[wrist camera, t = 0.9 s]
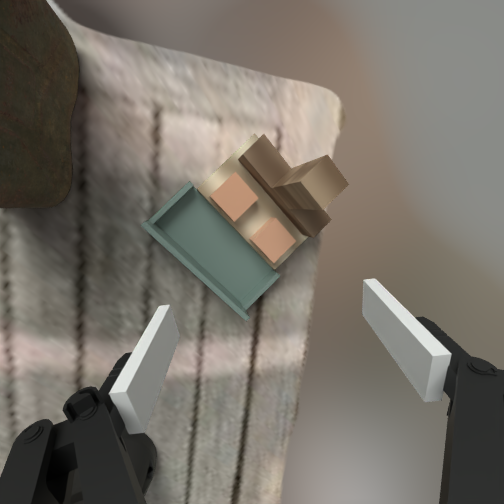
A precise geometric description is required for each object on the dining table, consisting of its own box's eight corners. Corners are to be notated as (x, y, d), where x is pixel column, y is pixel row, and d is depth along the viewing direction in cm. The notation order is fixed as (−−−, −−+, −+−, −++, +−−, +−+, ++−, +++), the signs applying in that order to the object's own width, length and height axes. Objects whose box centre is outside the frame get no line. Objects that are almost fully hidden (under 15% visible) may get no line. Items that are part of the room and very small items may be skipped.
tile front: (231, 220, 39) (234, 221, 36) (209, 196, 37) (210, 195, 35) (254, 198, 39) (258, 198, 36) (232, 173, 37) (235, 171, 35)
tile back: (269, 259, 41) (273, 263, 39) (249, 238, 40) (252, 240, 37) (290, 238, 41) (296, 241, 39) (271, 217, 40) (276, 217, 38)
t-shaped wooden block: (302, 234, 42) (353, 248, 28) (237, 159, 37) (262, 133, 24) (318, 218, 42) (377, 224, 28) (256, 141, 37) (291, 104, 24)
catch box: (239, 306, 45) (246, 321, 39) (148, 222, 39) (140, 225, 33) (274, 271, 45) (286, 281, 39) (189, 182, 39) (189, 178, 33)
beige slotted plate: (269, 265, 45) (274, 270, 42) (196, 190, 40) (196, 188, 37) (316, 219, 45) (324, 220, 42) (250, 138, 40) (254, 133, 37)
